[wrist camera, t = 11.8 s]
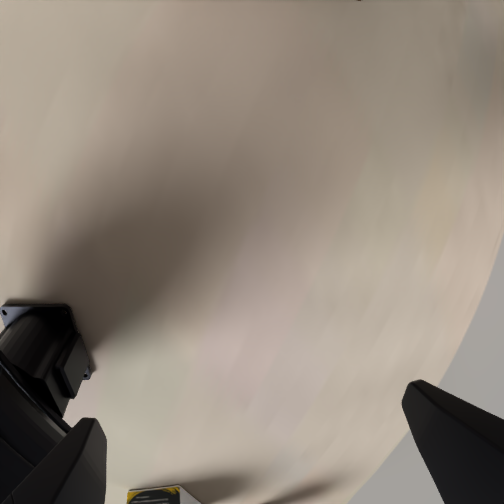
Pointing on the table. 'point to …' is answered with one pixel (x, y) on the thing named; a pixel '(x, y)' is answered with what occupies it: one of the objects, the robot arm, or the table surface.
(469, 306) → the table surface
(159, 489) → the medicine bottle
